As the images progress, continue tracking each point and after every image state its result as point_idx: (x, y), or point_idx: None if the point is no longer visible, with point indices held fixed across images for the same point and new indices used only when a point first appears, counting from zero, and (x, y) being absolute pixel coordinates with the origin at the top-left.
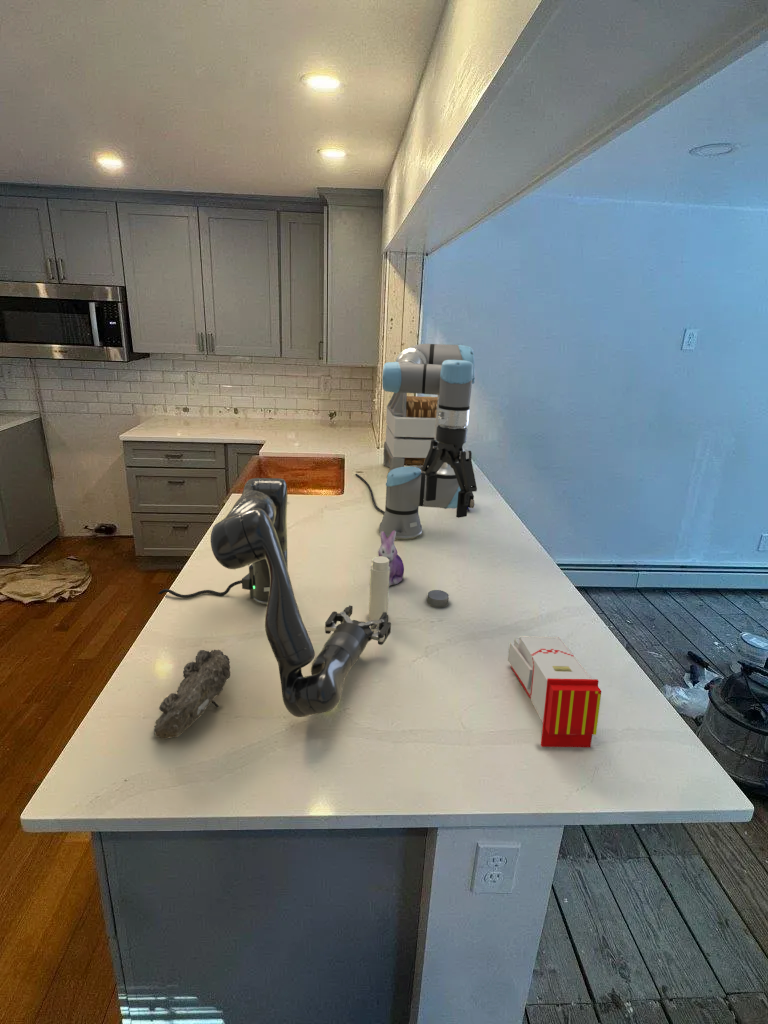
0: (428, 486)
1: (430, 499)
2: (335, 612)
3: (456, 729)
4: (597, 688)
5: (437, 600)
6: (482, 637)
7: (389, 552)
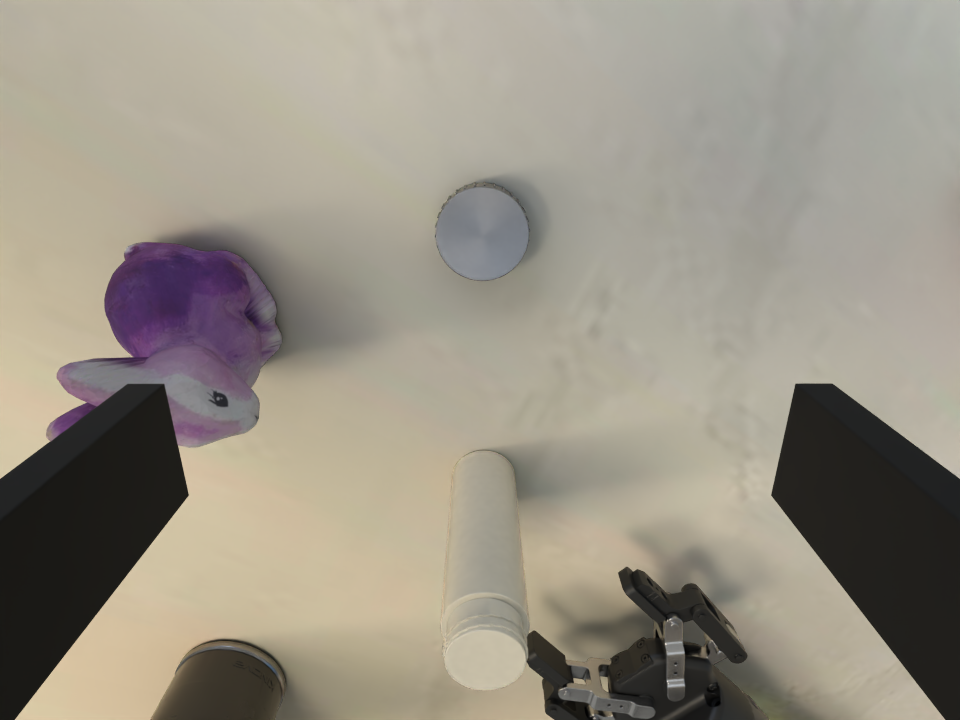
0: (68, 639)
1: (171, 461)
2: (556, 710)
3: None
4: None
5: (517, 262)
6: (783, 226)
7: (233, 426)
